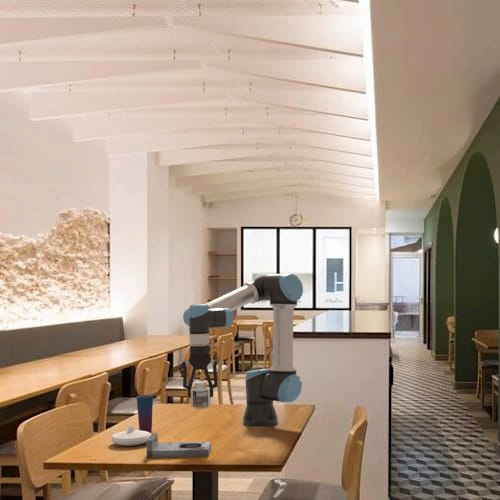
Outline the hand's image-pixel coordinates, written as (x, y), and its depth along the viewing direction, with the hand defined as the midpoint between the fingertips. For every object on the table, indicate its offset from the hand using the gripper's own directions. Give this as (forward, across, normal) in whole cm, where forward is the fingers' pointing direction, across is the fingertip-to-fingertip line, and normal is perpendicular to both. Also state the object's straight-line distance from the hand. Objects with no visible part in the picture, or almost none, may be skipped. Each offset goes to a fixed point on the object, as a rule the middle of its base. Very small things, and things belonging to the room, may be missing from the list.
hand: (201, 406), depth 273 cm
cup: (+15, +26, -28) cm, 42 cm away
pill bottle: (+1, 0, 0) cm, 1 cm away
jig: (+15, +7, +10) cm, 19 cm away
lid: (+16, +28, -7) cm, 33 cm away
